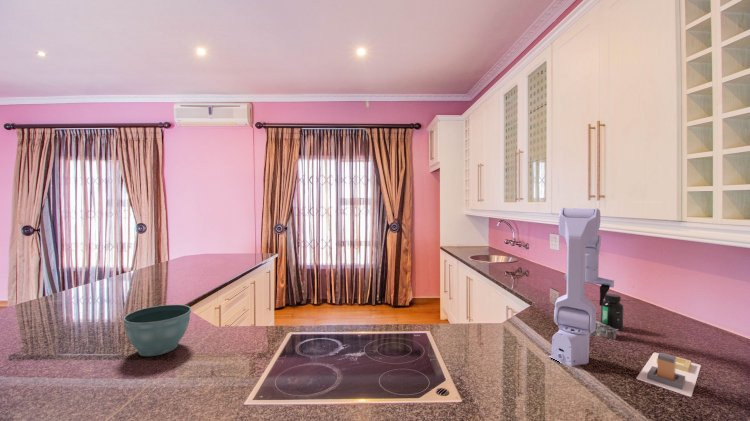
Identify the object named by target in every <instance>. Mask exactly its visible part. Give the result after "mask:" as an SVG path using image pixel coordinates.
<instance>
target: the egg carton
mask: <svg viewBox="0 0 750 421" xmlns="http://www.w3.org/2000/svg"><path fill="white" fill-rule="evenodd" d="M617 331H619V330H618V329H615V328H612V327H610V326H607V325H604V324H602V323H601V321H600V320H599V321H598V320H596V328H595V331H594V332H593V333H591V332H590V334H589V336H595V337H597V336H598V337H602V338H605V339H610V340H616V339H617Z"/></svg>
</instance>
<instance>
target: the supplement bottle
mask: <svg viewBox="0 0 750 421" xmlns="http://www.w3.org/2000/svg"><path fill="white" fill-rule="evenodd" d="M621 301H622V299H621V295H618V294H615V293H606V295H605V297H604V300H603V305H602V306H600V322H601V323H602V324H604V325H607V326H610V327H612V328H615V329H618V330H617V331H622V330H623V329H624V314H625V312H624V311H625V306H624V305H623V303H621Z"/></svg>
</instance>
